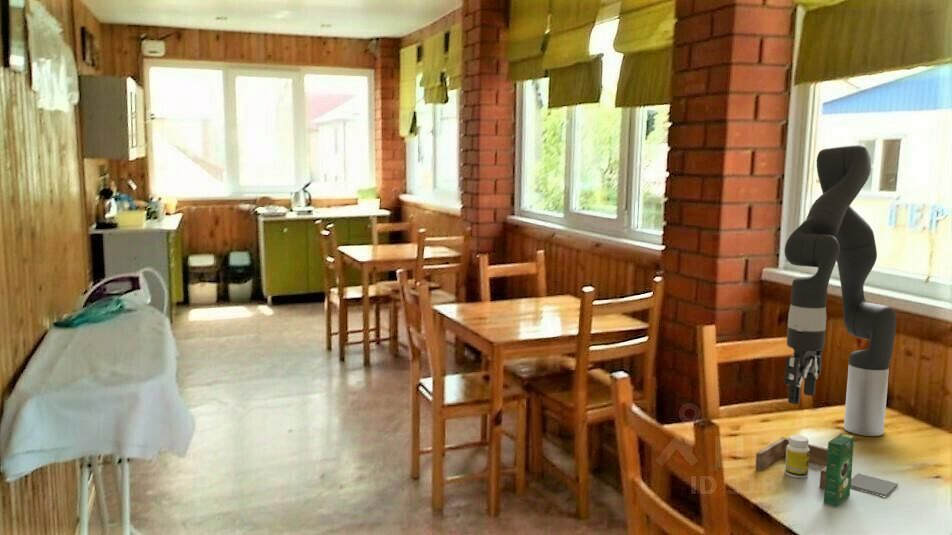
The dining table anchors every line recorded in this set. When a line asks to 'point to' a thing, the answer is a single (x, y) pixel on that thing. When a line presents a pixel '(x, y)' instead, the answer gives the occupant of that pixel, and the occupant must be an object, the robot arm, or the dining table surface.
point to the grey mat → (872, 484)
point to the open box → (779, 449)
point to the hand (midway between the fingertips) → (801, 399)
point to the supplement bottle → (797, 457)
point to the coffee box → (838, 469)
